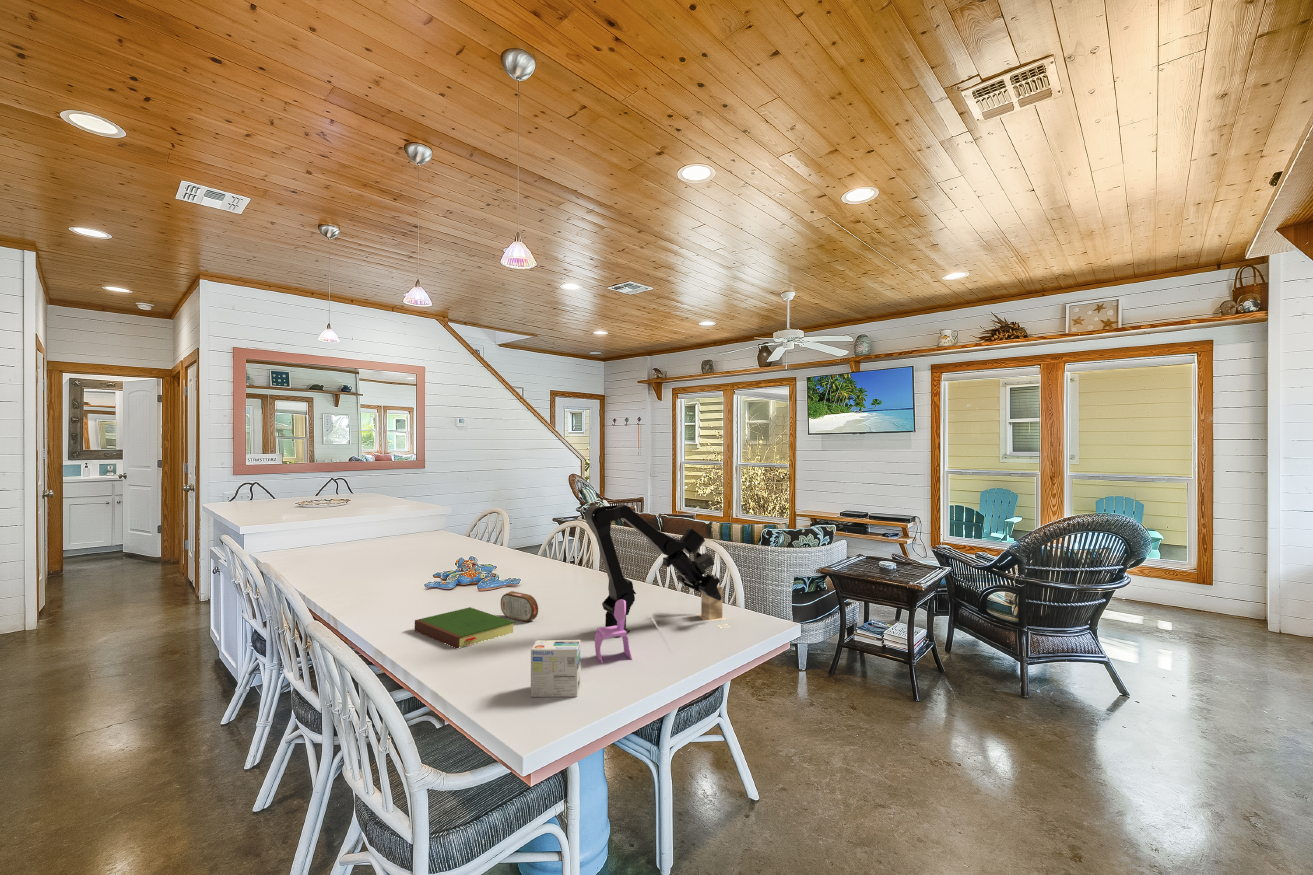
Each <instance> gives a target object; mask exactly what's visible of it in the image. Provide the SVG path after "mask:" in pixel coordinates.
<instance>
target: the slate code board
mask: <svg viewBox="0 0 1313 875" xmlns="http://www.w3.org/2000/svg"><path fill="white" fill-rule="evenodd" d="M696 615H697V616H698V617H699V618H700V619H702V620H703V621H704V622H710V621H711V622H712V621H723V620H727V618H726V617H725V616H723V615H722V618H718V619H711V620H709V619H707V618H705V617H703V616H701V613H700V614H698V613H697V614H696ZM726 626H728V628H731V626H729V625H728V623H724V624H718V625H716V627H718V628H719V629H723V628H726Z"/></svg>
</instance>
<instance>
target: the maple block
mask: <svg viewBox="0 0 1313 875" xmlns="http://www.w3.org/2000/svg"><path fill="white" fill-rule="evenodd" d="M717 588H718V591H719V593H720V595H721V597H722V599H721V600H720V601H719V600H717V599H714V598H712V597H710V596H707V595H705V594H703V593H702V592H700V593H701V594H700V596H701V597H700V598H701V599H700V600H701V602H700V606H701V608H700V610H701V613H700V614H701V616H703V617H705V618H707V619H709V620H711V619H718V618H722V616H723V586H721V585H719V584H718V585H717Z"/></svg>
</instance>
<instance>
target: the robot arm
mask: <svg viewBox="0 0 1313 875" xmlns="http://www.w3.org/2000/svg"><path fill="white" fill-rule="evenodd" d="M583 515H584V516H583V517H584V520H585V522H586V524H587V526H588V527H589V529H590V531H591V532H592V534H593V535H594V536H595V540H596V543H597V545H598V548H599V551H600V555H601V558H602V562H603V564H604V568H605V571H606V575H607V577H608V586H607V587H608V588H607V589H608V596H607V597H606V598H604V601H603V602H602V603H601V605H602V609H603V610H604V611H606V612H605V626H604V627H611V626H616V625H617V620H616V619H615V617H614V610H615V603H616V602H617V601H618V600H620V599H622V600H625V601H626V615H625V622H624V630H625V631H626V632H627V634H628V633H630V632H631V630H630V629H629V628H628V629H627V616H629V613H630V610H631V608H632V606H633V605H634V603H635V601H636V597H635V595H636V594H637V593H636V591H635V589H634V586H633V585H634V584H633V581H631V579H628V578H626V577H625V576H624V575H623V571H622V568H621V565H620V564H621V563H620V561H619V558H618V555H617V551H616V548H615V544H614V543H613V537H612V535H611V527H612V522H615V521H618V520H621V519H622V520H623V521H624V522H625V523H626V524H628V525H629V526H631V527H632V528H633V529H634V530H635V531H637V532H638V533H639V534H640V535H642V536H643V537H644V538H645V539H646V540H647V542H648V544H649V545H650V546H651V547H652V548H653V549H654V551H655V552H656V553H659V554H661V555H664V556H665V557H663V558H662V566H664V567H666V568H669V567H671V566H672V567H673V568H674V569H675V571H676V574H678V575H677V576H676V578H677V579H676V580H677V581H678V583H680V584H681V585H683V586H685V587H687V588H690V589H692V590H694V591H695V592H696V591H697V592H699V593H701V592H702V593H703V594H705V595H707V596H710V597H712V598H714V599H717V600H719V601H720V600H721V599H722V600H723V596H722V597H721V595H720V593H719V591H718V588H717V585H719V583H720V582H721V580H720V578H719V577H718V576H717V575H715V574H710V573H709V574H706V572H707V571H706V570H707V569H708V568H710V567H712V566H714V565H715V561H714V559H713V556H712V555H711V554H709V553H706V552H704V553H703V552H702V553H700V552H698V550H699V549H700V548H701V547H702V545H703V544H704V543H705V542H706V539H705V538H704V537H703V535H701V534H700V533H699V532H697V531H695V530H694V529H693V528H691V527H688V528H687V529H686V530H685V532H684V534H682V536H681V537H680V538H679V539H677V538H674V537H672V536H670V535H668V534H666V533H665V532H662V531H660V530H658V529H656V528H655V527H654V526H653V525H652V524H650V523H649V522H648V521H647V520H645V519H644V518H643V517H642V516H641V515H640V514H638V513H637V512H635V511H634V510H633V509H632V508H631V506H629V505H627V504H623V503H619V504H614V505H605V506H604V505H603V506H600V505H596V504H595V505H594V504H593V505H590V506H588V507H587V508H586V509H585V512H584V514H583ZM691 554H692V555H693V560H692V558H690V556H688V555H691ZM705 574H706V576H704V575H705ZM620 637H621V636H616V638H620Z"/></svg>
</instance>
